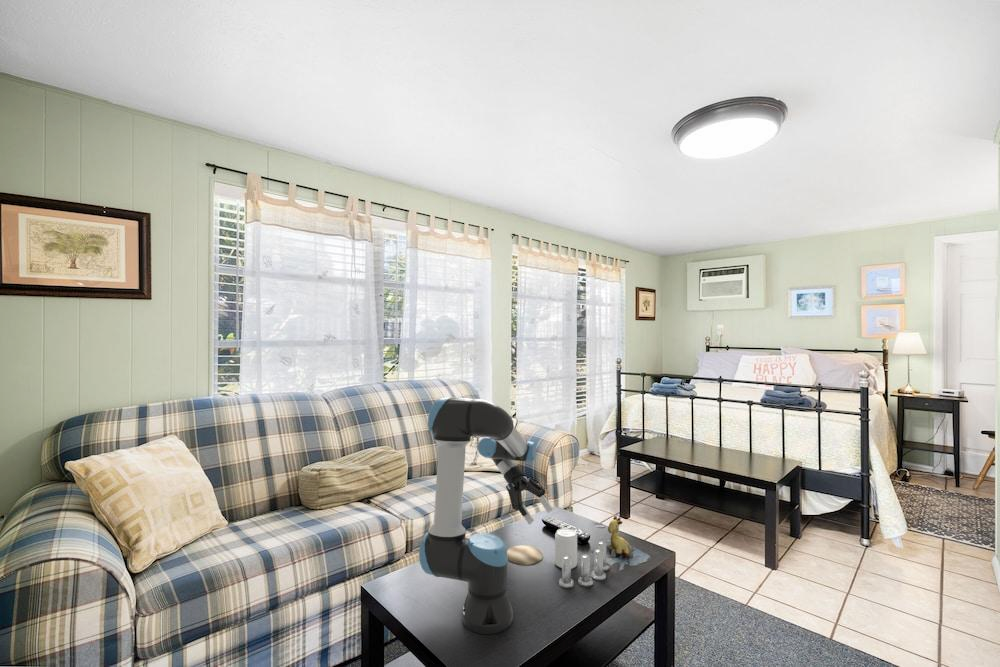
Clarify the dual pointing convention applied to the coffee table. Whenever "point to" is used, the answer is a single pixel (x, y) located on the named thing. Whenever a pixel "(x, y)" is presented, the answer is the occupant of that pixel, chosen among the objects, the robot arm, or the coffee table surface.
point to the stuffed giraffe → (621, 548)
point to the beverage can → (565, 546)
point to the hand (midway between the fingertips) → (541, 516)
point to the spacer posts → (586, 568)
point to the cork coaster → (524, 555)
